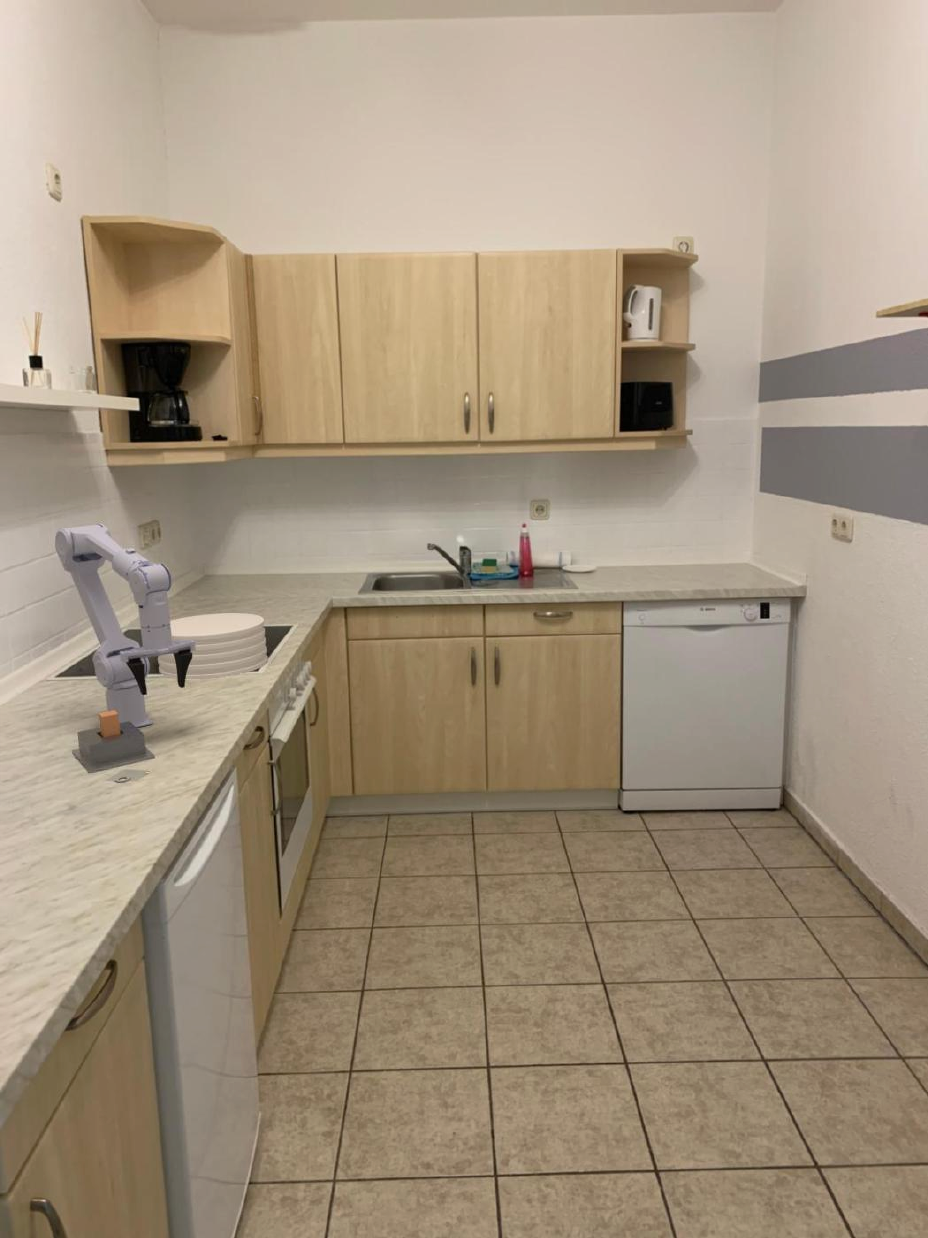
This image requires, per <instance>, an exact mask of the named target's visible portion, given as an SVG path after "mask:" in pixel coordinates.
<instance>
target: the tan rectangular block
mask: <svg viewBox="0 0 928 1238" xmlns="http://www.w3.org/2000/svg"><path fill="white" fill-rule="evenodd" d="M97 714H98V720H99V728H100V731H101V738H105V737H109V736H114V735H119V734H121V733H120V725H119V717H118V713H117V712H116V711H115V710H113V711H108V710H107V711H104V712H103V711H102V712H98V713H97Z"/></svg>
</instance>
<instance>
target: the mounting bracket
mask: <svg viewBox="0 0 928 1238" xmlns="http://www.w3.org/2000/svg"><path fill="white" fill-rule="evenodd" d="M146 772H150V773H151V771H150V770H148V769H147V770H146V769H145V770H144V769H128V768H125V769H122V770H120V771H118V772H117V773H115V774H114V775H112V776H111V777H109V778H107V780H105V782H115V784H122V783H128V782H138V781H140V780H141V779H143V778H144V777H146V776H147V775H148V774H149V773H146Z"/></svg>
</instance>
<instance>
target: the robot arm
mask: <svg viewBox="0 0 928 1238" xmlns="http://www.w3.org/2000/svg"><path fill="white" fill-rule="evenodd" d="M54 539H55V540H54V547H55V551H56V553H57V555H58V558H59V561H60V562H61V566H62V567H63V570H64V571H66V572H68V573H70V576H71V578H72V580H73V582H74V585H75V587H76V590H77V592H78V595H79V597H80V599H81V602H82V604H83V607H84V609H85V612H86V614H87V616H88V619H89V621H90V623H91V626H92V629H93V631H94V633H95V635H96V638H97V641H98V643H99V647H98V648H97V649H96V650H95V652H94V654H93V656H92V658H91V659H92V662H93V666H94V673H95V676H96V680H97V681H98V682H99V684H100V685H101V686H103V688H106V690H105V703H106V708H107V712H108V711H113V710H115V711H116V712H117V713H118V717H119V723H124V722H128V721H130V722H131V723H132V724H133V725H134V726H135V727H137V728H140V727H145V726H149V725H153V724H154V722H153V720H152V719H150V718H149V717H148V716H147V710H146V709H147V708H146V703H145V696H147V695H148V689H147V684H146V678H147V677H148V675H149V673H150V669H151V668H150V667H151V664H150V660H149V658H154V657H158V656H161V655H166V654H172V653H173V654H174V658H175V663H176V669H177V679H176V680H177V685H178V687H180V688H181V689H182V688H184V689H185V687H186V685H185V684H186V680H185V679H186V674H187V670H188V667H189V664H190V662H191V659H192V653H191V652H190V651H194V650H196V648H195V641H193V640H186V641H176V642H172V634H171V625H170V621H171V617H170V609H169V607H170V606H169V601H168V600H169V598H168V592H169V591H170V590H171V588H172V585H173V584H172V583H173V578H172V574H171V571H170V569H169V568H168V566H167V565H166V564H165V563H163V562H159V563H152V562H151V561H150V560H148V559H147V558H146V557H144V556H143V555H141V554H140V553H138V552H137V551H136V549H135V548H133V547H131V548H123V547H121V545H119V543H117V542H116V541H115V540H114V539H113V538H112V536H111V532H110V530H109V528H108V527H106V525H104V524H103V523H96V524H92V525H82V526H75V527H74V526H73V527H67V528H66V527H61V528H59V529H58V530H57V531H56V533H55V538H54ZM106 561H108V562H110V563H111V568H112V570H113V571H114V572H115V573H116V574H117V575H119V576H120V577H121V578H122V579H124V580H125V581H126V582H128V584H129V588H130V590H131V592H132V594H133V599H134V602H135V604H136V605H137V608H138V617H139V624H140V633H141V634H140V635H141V640H142V641H141V642H142V646H140V644H139V642H138V641H136V640H134V639H131V638H130V637H129V638H128V637H127V636H125V634H124V632H123V630H122V627H121V625H120V623H119V620H118V618H117V616H116V614H115V611H114V609H113V606H112V604H111V602H110V599H109V597H108V595H107V592H106V590H105V587H104V585H103V582H102V580H101V578H100V575H99V573H98V571H99V569H100V568H101V567H103V566H104V565H105V562H106Z"/></svg>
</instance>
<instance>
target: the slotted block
mask: <svg viewBox="0 0 928 1238" xmlns="http://www.w3.org/2000/svg"><path fill="white" fill-rule="evenodd" d="M119 725H120V733H121V734H119V735H114V736H109V737H105V738H101V731H100V727H95V728H91V729H86V730H80V731H77V732H76V733H77V739H78V740H77V741H78V748H75V749H71V752H72V754H73V756H74V757H76V759H77V760H78V761H79V762H80V764H81V765H82V766H83V768H84V769H85V770H86V771H87V772H88V773H89V774H92V773H96V772H99V771H105V770H109V769H113V768H118V767H123V766H126V765H130V764H136V763H138V762H143V761H146V760H147V761H149V760H152V759H155V757H156V756H155V754H154V753H153V752H151V750H150V749H148V747H147V746H146V741H145V733H143V732H142V730H140V728H139V727H135V726H134V725H133V724H132V723H131V722H130V721H128V722H124V723H119Z"/></svg>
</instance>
